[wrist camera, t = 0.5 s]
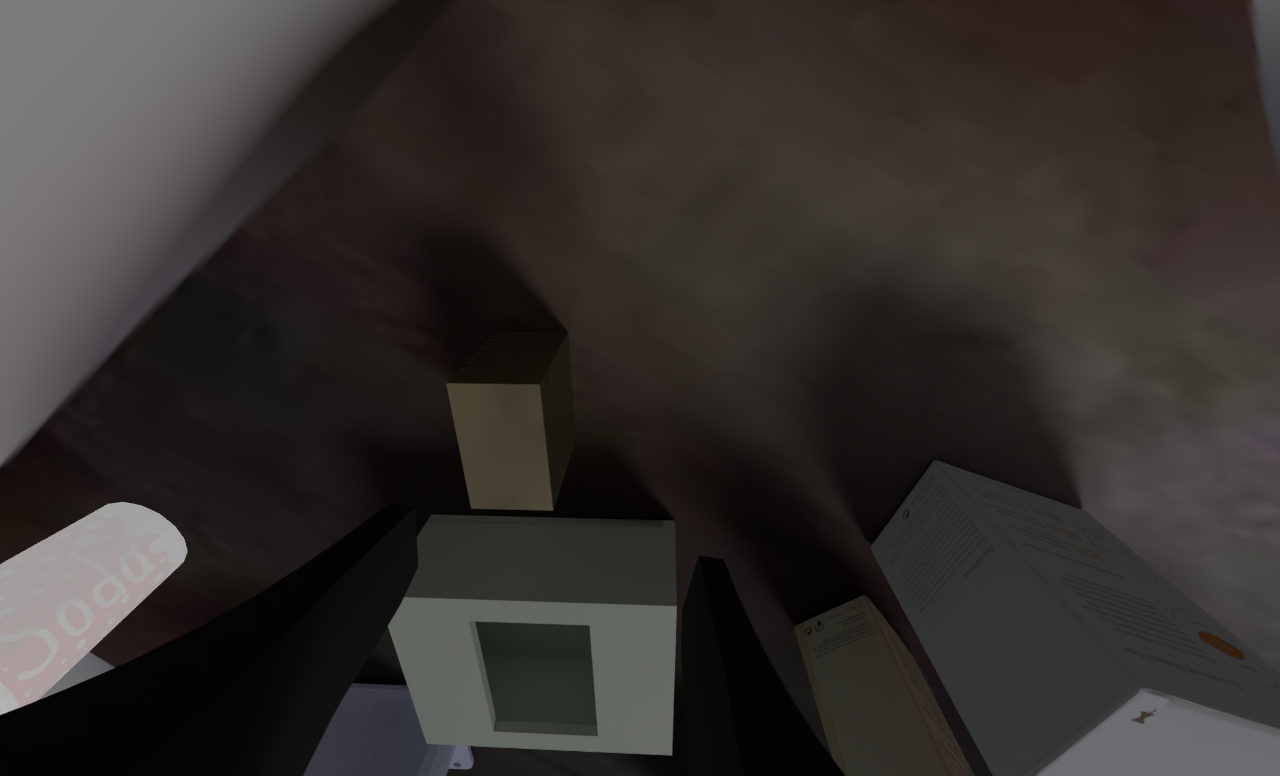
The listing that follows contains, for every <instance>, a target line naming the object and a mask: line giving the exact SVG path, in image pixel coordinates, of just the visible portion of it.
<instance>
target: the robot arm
mask: <svg viewBox="0 0 1280 776" xmlns="http://www.w3.org/2000/svg"><path fill="white" fill-rule="evenodd" d="M417 568H418V550H417V534H416V518H415V507H409V506H403V505H397V504H389V505H388V506H386V507H385V508H383V509H382V510H380V511H379V512H378V513H376V514H375V515H373V516H372V517H371V518H369V519H368V520H366V521H365V522H364V523H362V524H361V525H360V526H358V527H357V528H355V529H354V530H353V531H351V532H350V533H348V534H347V535H346V536H344V537H343V538H342V539H340V540H339V541H337V542H336V543H334V544H333V545H332V546H330V547H329V548H327V549H326V550H324V551H323V552H321V553H320V554H319V555H317V556H316V557H314V558H313V559H311V560H310V561H308V562H307V563H306V564H304V565H303V566H301V567H300V568H298V569H296V570H295V571H293V572H292V573H290V574H289V575H287V576H286V577H284V578H282V579H281V580H279V581H278V582H276V583H275V584H273V585H271V586H270V587H268V588H267V589H265V590H264V591H262V592H260V593H259V594H257V595H255V596H254V597H252V598H250V599H249V600H247V601H245V602H244V603H242V604H240V605H238V606H237V607H235V608H233V609H232V610H230V611H228V612H226V613H224V614H222V615H221V616H219V617H217V618H215V619H213V620H212V621H210V622H208V623H206V624H204V625H202V626H200V627H199V628H197V629H195V630H193V631H191V632H189V633H186V634H184V635H182V636H180V637H178V638H176V639H174V640H172V641H170V642H168V643H166V644H164V645H162V646H160V647H158V648H156V649H154V650H152V651H150V652H148V653H146V654H144V655H142V656H140V657H138V658H136V659H134V660H131V661H129V662H127V663H125V664H122V665H120V666H118V667H116V668H114V669H112V670H109V671H107V672H105V673H102V674H100V675H98V676H95V677H93V678H91V679H88V680H86V681H84V682H81V683H79V684H77V685H74V686H72V687H70V688H67V689H65V690H63V691H60V692H58V693H55V694H53V695H50V696H48V697H46V698H43V699H40V700H38V701H35V702H33V703H30V704H27V705H25V706H22V707H20V708H17V709H14V710H12V711H9V712H7V713H4V714H1V715H0V776H446V775H447V772H448V769H449V768H451V769H469V768H471V767H472V765H473V762H474V759H473V755H472V751H471V747H470V746H462V745H441V744H427V743H426V740H425V737H424V734H423V731H422V728H421V725H420V722H419V719H418V716H417V713H416V710H415V707H414V704H413V701H412V698H411V694H410V691H409V688H408V685H384V684H360V683H353V681H354V680H355V678H356V677H357V675H358V673H359V672H360V670H361V669H362V667H363V665H364V664H365V662H366V660H367V659H368V657H369V656H370V654H371V652H372V651H373V649H374V648H375V646H376V644H377V643H378V641H379V639H380V638H381V636H382V635H383V633H384V631H385V630H386V628H387V626H388V625H389V623H390V621H391V620H392V618H393V617H394V615H395V613H396V612H397V610H398V608H399V607H400V605H401V603H402V601H403V599H404V596H405V594H406V592H407V590H408V588H409V586H410V584H411V582H412V579H413V577H414V575H415V573H416V570H417ZM681 664H682V680H683V695H684V710H685V725H686V740H687V761H688V776H845V774H844V773H843V772H842V770H841V769H840V768H839V766H838V765H837V764H836V762H835V761H834V760H833V758H832V757H831V756H830V754H829V753H828V752H827V750H826V749H825V748H824V746H823V745H822V743H821V742H820V740H819V739H818V737H817V736H816V734H815V733H814V731H813V730H812V729H811V727H810V726H809V724H808V723H807V721H806V720H805V718H804V716H803V715H802V713H801V712H800V710H799V709H798V707H797V706H796V704H795V702H794V701H793V699H792V697H791V696H790V694H789V693H788V691H787V689H786V688H785V686H784V684H783V682H782V681H781V679H780V677H779V675H778V674H777V672H776V670H775V668H774V666H773V665H772V663H771V661H770V659H769V657H768V656H767V654H766V652H765V650H764V648H763V646H762V644H761V642H760V640H759V638H758V636H757V634H756V632H755V630H754V628H753V626H752V624H751V622H750V620H749V618H748V615H747V613H746V611H745V609H744V607H743V604H742V602H741V600H740V598H739V595H738V593H737V591H736V588H735V586H734V584H733V581H732V579H731V576H730V574H729V571H728V568H727V566H726V563H725V562H724V561H723V559H717V558H711V557H705V556H699V557H698V560H697V563H696V567H695V570H694V573H693V577H692V580H691V583H690V587H689V590H688V593H687V597H686V600H685V603H684V607H683V610H682V632H681Z"/></svg>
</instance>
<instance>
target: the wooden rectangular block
mask: <svg viewBox="0 0 1280 776" xmlns="http://www.w3.org/2000/svg"><path fill="white" fill-rule="evenodd" d="M446 384H447V389H448V394H449V399H450V404H451V409H452V414H453V419H454V424H455V429H456V434H457V439H458V444H459V449H460V454H461V459H462V464H463V469H464V475H465V480H466V485H467V490H468V495H469V500H470V505H471V509H509V510H548V511H553V510H554V507H555V504H556V501H557V497H558V494H559V491H560V488H561V485H562V482H563V479H564V475H565V472H566V469H567V466H568V463H569V460H570V457H571V453H572V450H573V447H574V444H575V441H576V428H575V415H574V402H573V389H572V376H571V362H570V349H569V336H568V332H495V333H494V334H493V335H492V336H491V337H490V338H489V339H488V340H487V341H486V342H485V343H484V344H483V345H482V347H481V348H480V349H479V350H478V351H477V352H476V353H475V354H474V355H473V356H472V357H471V358H470V359H469V360H468V361H467V362H466V363H465V364H464V365H463V366H462V368H461V369H460V370H459V371H458V372H457V373H456V374H455V375H454V376H453V377H452V378H451V379H450V380H449V381H448V382H447V383H446Z"/></svg>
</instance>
